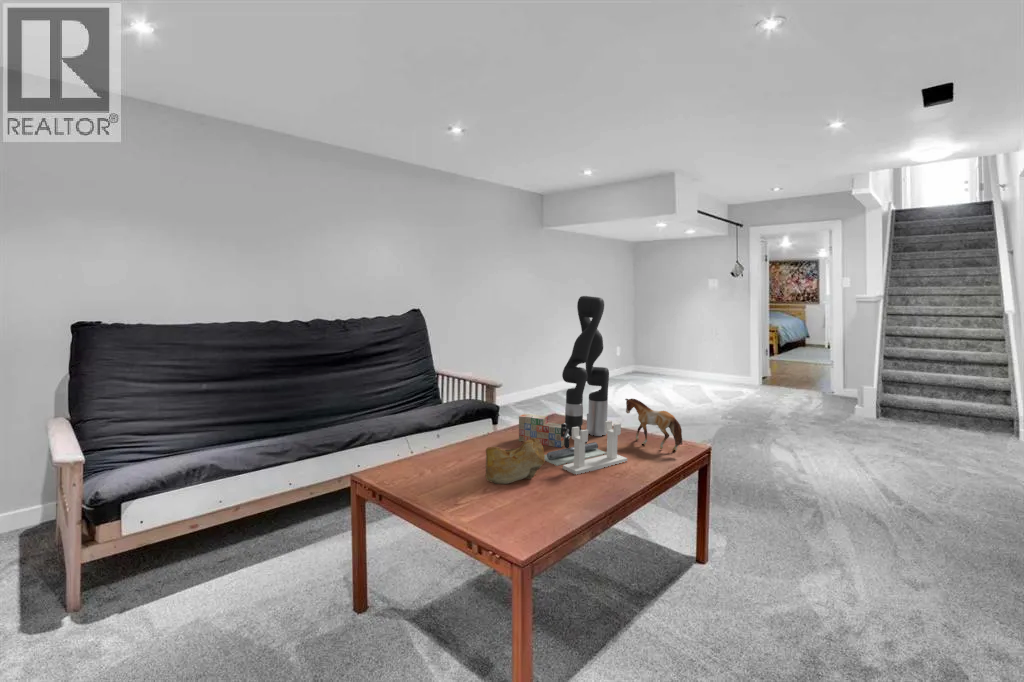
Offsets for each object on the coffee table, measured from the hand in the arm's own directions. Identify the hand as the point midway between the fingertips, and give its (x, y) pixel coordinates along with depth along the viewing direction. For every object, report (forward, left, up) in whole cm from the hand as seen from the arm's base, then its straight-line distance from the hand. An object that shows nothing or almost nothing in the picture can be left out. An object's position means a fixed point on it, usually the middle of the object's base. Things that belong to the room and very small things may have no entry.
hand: (573, 450), depth 221 cm
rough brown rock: (+6, -36, -3) cm, 37 cm away
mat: (0, 0, -2) cm, 2 cm away
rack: (+14, 0, -2) cm, 14 cm away
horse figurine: (+11, +37, -3) cm, 39 cm away
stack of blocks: (-22, 0, -3) cm, 22 cm away
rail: (0, 0, -2) cm, 2 cm away
